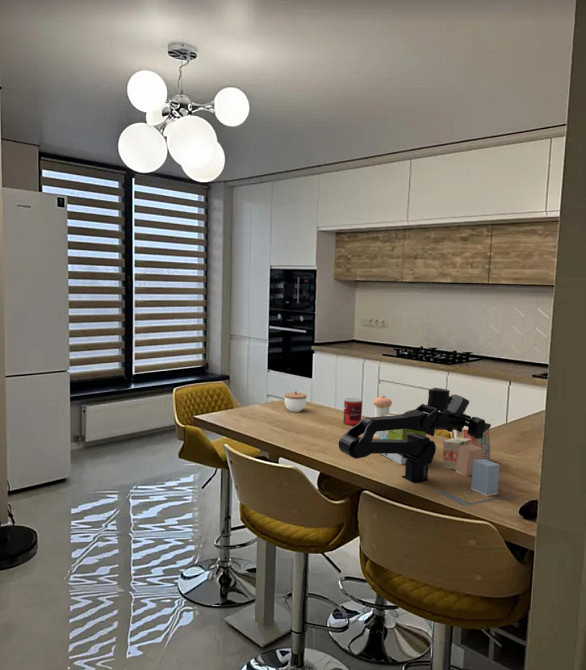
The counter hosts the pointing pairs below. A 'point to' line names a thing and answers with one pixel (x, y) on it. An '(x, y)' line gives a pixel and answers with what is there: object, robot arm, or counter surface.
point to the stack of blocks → (463, 439)
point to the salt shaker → (381, 410)
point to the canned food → (352, 411)
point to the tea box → (398, 435)
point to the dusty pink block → (467, 458)
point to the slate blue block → (485, 477)
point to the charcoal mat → (463, 500)
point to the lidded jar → (295, 401)
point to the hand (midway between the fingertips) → (480, 421)
